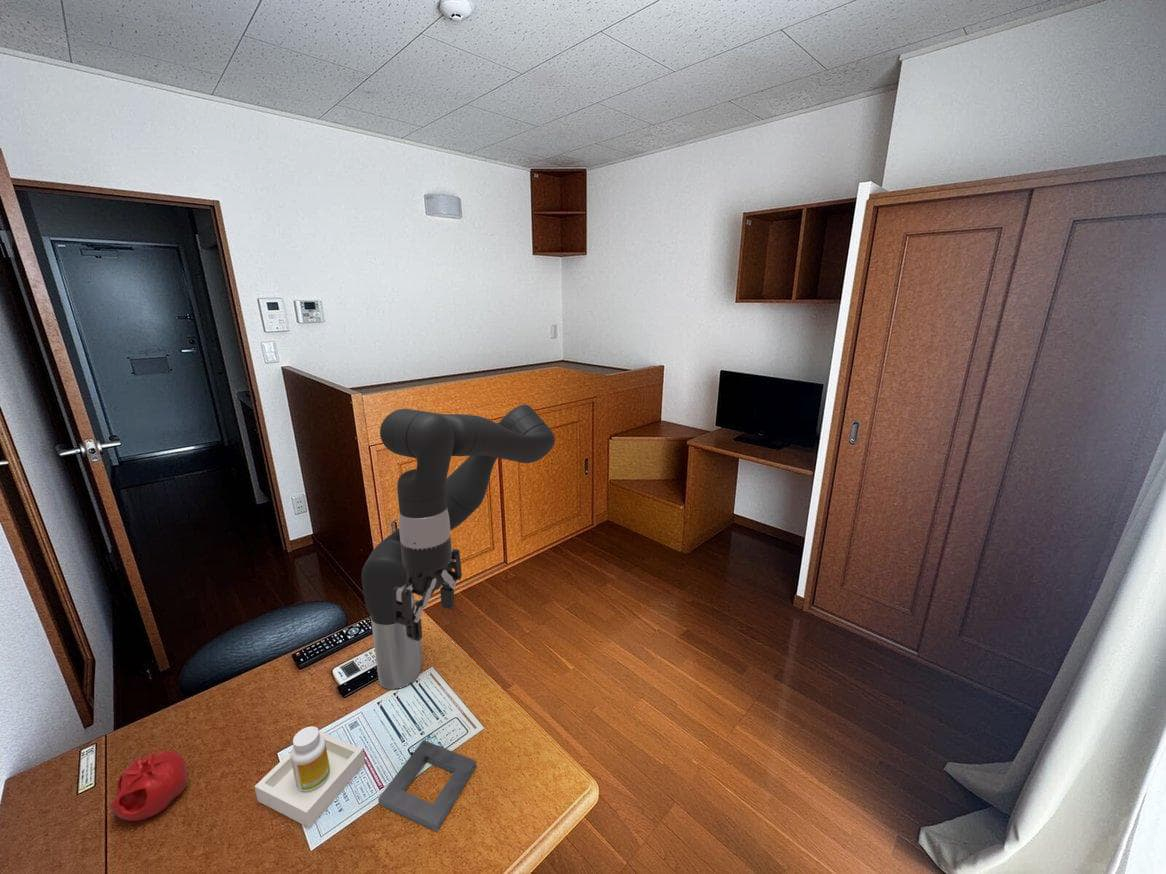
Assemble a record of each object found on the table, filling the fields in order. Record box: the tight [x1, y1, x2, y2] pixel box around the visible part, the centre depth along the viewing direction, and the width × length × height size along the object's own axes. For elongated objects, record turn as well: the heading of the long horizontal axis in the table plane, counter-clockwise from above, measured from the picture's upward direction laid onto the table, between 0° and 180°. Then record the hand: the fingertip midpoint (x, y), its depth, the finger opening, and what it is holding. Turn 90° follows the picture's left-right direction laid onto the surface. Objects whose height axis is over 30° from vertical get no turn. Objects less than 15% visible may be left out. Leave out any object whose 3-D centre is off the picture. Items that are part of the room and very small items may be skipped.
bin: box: [254, 730, 366, 829], centre depth 84 cm, size 12×12×4 cm
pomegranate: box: [109, 747, 188, 822], centre depth 80 cm, size 10×10×9 cm
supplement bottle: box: [290, 726, 330, 792], centre depth 83 cm, size 5×5×10 cm
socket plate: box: [377, 739, 477, 832], centre depth 84 cm, size 12×12×2 cm
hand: (432, 622), depth 77 cm, fingers open, 8 cm apart
